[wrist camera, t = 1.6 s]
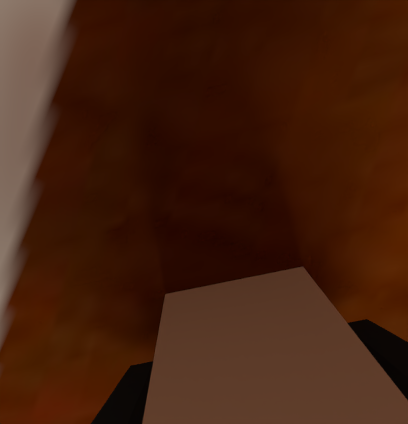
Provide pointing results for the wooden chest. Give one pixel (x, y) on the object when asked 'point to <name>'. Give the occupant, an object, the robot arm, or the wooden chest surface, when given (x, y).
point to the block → (265, 359)
